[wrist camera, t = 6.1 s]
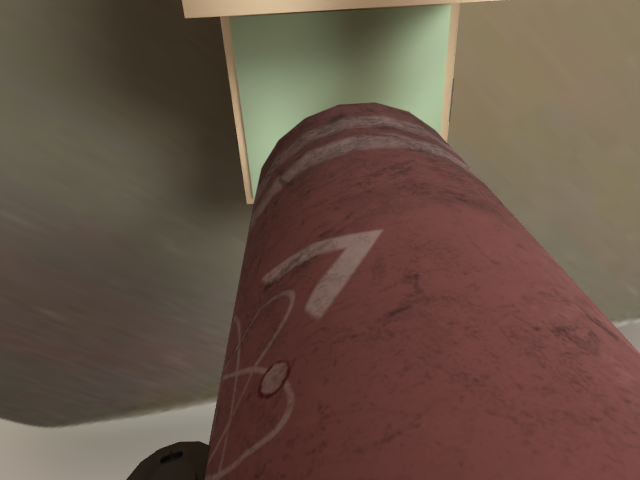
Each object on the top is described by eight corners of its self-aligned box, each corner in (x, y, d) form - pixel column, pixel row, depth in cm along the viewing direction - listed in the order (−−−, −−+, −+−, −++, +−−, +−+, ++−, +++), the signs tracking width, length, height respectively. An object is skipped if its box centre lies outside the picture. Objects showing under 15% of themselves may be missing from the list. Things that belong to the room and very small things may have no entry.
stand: (257, 162, 28) (229, 269, 18) (212, -206, 20) (109, -405, 10) (420, 153, 28) (486, 254, 18) (444, -220, 20) (595, -433, 10)
